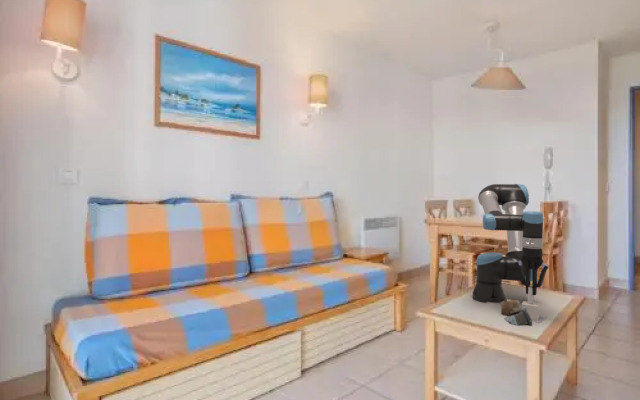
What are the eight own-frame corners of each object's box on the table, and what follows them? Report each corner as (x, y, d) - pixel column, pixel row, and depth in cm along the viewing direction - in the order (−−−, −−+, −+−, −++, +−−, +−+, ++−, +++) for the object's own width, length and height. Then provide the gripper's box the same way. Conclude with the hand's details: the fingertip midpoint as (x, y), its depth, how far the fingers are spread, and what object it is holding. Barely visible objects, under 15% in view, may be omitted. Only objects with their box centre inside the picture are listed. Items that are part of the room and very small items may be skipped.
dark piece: (495, 319, 160) (505, 306, 151) (509, 313, 162) (519, 300, 153) (511, 339, 154) (522, 327, 145) (524, 333, 156) (536, 321, 147)
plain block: (521, 317, 159) (521, 303, 158) (523, 314, 163) (523, 300, 163) (537, 320, 155) (538, 306, 155) (539, 316, 160) (539, 303, 160)
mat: (513, 318, 159) (513, 317, 159) (521, 313, 166) (521, 311, 166) (539, 324, 152) (539, 323, 152) (547, 319, 159) (547, 317, 159)
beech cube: (506, 312, 167) (506, 301, 167) (506, 309, 172) (507, 299, 171) (518, 314, 165) (519, 303, 165) (518, 311, 169) (519, 300, 169)
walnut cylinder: (499, 315, 163) (499, 302, 163) (503, 313, 166) (503, 300, 166) (510, 318, 160) (510, 304, 159) (513, 316, 163) (514, 302, 162)
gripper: (512, 246, 161) (511, 300, 161) (546, 250, 151) (545, 307, 152) (518, 244, 166) (517, 297, 166) (552, 248, 156) (550, 303, 157)
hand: (530, 302), depth 159 cm, fingers closed
